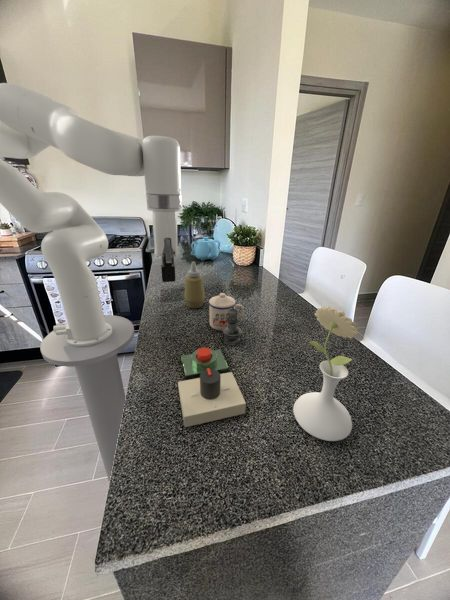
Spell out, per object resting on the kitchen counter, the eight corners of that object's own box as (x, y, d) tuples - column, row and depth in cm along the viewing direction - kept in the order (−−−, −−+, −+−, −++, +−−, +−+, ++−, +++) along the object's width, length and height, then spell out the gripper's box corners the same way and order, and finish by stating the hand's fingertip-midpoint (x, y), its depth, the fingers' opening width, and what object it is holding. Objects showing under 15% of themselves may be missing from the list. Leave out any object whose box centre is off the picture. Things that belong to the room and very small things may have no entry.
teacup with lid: (210, 332, 82) (210, 300, 77) (207, 319, 90) (207, 289, 85) (246, 329, 84) (248, 298, 79) (239, 316, 92) (241, 287, 88)
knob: (222, 397, 54) (222, 380, 52) (202, 401, 52) (201, 384, 50) (217, 382, 57) (217, 366, 55) (198, 386, 56) (198, 369, 54)
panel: (184, 427, 50) (183, 416, 49) (178, 391, 59) (177, 381, 58) (245, 413, 54) (246, 402, 52) (231, 381, 62) (231, 371, 61)
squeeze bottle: (199, 299, 105) (198, 258, 97) (208, 307, 99) (208, 263, 91) (181, 303, 101) (179, 260, 94) (189, 312, 95) (187, 266, 87)
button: (198, 362, 63) (198, 357, 62) (196, 354, 66) (195, 348, 65) (212, 360, 64) (212, 354, 63) (209, 351, 67) (209, 346, 66)
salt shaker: (227, 333, 82) (228, 300, 77) (244, 338, 80) (246, 304, 74) (219, 342, 77) (219, 307, 72) (236, 347, 75) (237, 312, 70)
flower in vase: (363, 436, 49) (404, 327, 39) (315, 454, 46) (345, 340, 35) (319, 389, 60) (342, 294, 50) (278, 401, 57) (293, 302, 46)
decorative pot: (209, 263, 153) (209, 241, 147) (188, 259, 160) (187, 237, 155) (223, 257, 166) (223, 236, 160) (203, 253, 173) (203, 233, 167)
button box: (185, 382, 62) (184, 369, 60) (181, 362, 69) (180, 350, 67) (228, 374, 64) (228, 362, 63) (220, 355, 71) (220, 344, 70)
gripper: (146, 200, 61) (152, 271, 69) (146, 206, 48) (154, 293, 56) (178, 200, 63) (180, 270, 71) (185, 206, 50) (187, 291, 58)
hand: (168, 280), depth 63 cm, fingers closed
